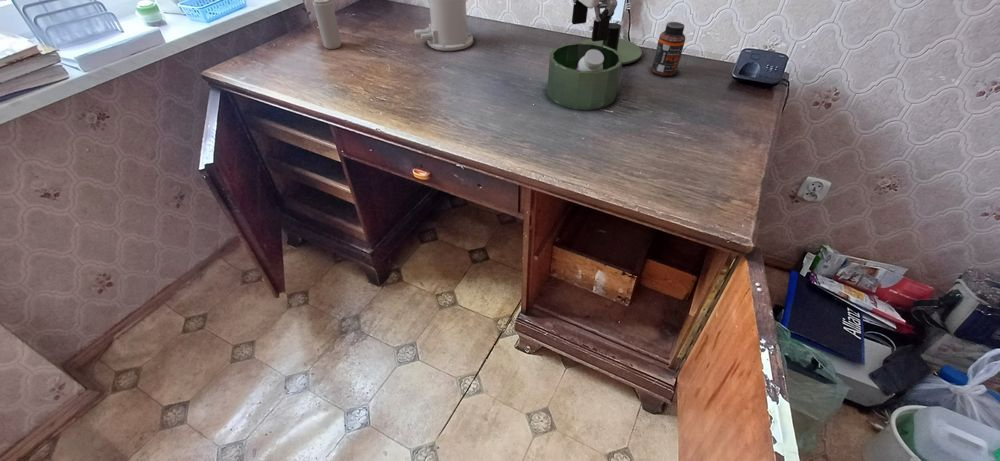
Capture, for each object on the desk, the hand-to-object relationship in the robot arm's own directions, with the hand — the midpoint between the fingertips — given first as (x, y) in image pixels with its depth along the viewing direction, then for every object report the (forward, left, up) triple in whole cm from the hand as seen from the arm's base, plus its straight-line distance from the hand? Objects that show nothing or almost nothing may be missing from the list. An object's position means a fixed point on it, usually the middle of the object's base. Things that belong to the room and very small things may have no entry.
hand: (588, 31), depth 97 cm
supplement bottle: (+24, +4, -14) cm, 28 cm away
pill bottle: (0, 0, -12) cm, 12 cm away
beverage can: (-53, +45, -14) cm, 71 cm away
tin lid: (+16, +18, -13) cm, 28 cm away
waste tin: (0, 0, -14) cm, 14 cm away
